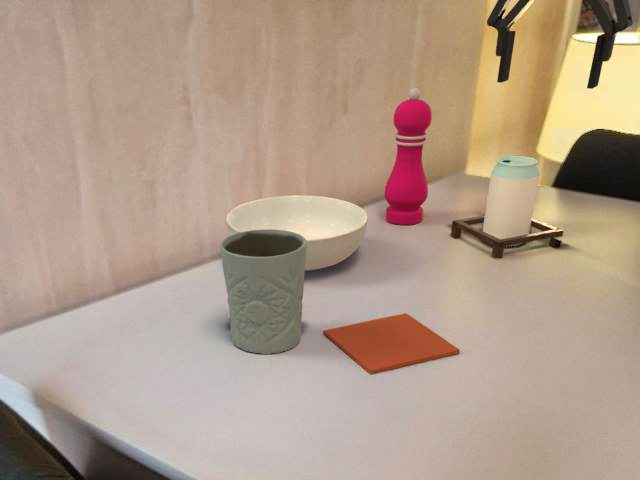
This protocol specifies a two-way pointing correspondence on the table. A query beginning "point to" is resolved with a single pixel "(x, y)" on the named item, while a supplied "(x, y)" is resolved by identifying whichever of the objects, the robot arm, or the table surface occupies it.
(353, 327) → the mat
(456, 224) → the square trivet stand
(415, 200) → the pepper mill
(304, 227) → the serving bowl
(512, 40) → the robot arm
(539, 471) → the table surface
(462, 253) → the table surface
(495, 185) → the can
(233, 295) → the grey ceramic cup
